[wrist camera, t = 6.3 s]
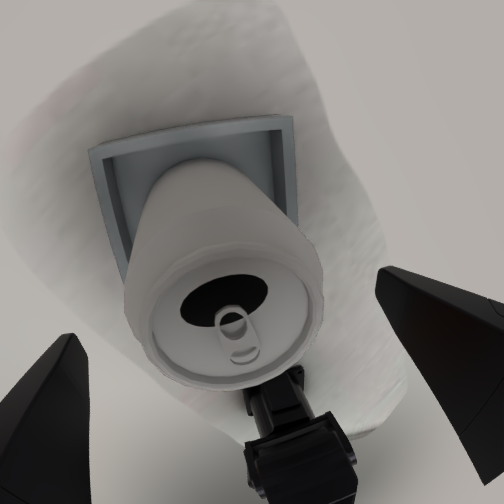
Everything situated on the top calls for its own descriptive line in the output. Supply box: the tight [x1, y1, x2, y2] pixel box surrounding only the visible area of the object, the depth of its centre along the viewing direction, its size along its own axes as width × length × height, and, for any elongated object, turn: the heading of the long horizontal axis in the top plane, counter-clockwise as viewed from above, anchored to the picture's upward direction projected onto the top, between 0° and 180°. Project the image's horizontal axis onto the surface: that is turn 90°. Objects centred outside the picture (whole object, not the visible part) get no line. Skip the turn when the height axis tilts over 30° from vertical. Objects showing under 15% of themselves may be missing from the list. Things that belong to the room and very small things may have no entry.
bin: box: [88, 115, 298, 284], centre depth 19 cm, size 11×11×3 cm
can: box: [124, 158, 324, 391], centre depth 15 cm, size 8×8×12 cm
